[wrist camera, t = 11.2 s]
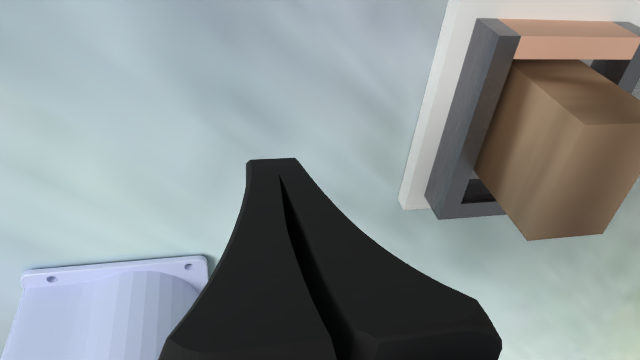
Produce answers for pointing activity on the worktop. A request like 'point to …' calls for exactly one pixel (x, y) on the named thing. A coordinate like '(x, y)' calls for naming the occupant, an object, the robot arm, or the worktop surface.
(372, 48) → the worktop surface
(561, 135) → the plug block
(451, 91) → the grey tray
